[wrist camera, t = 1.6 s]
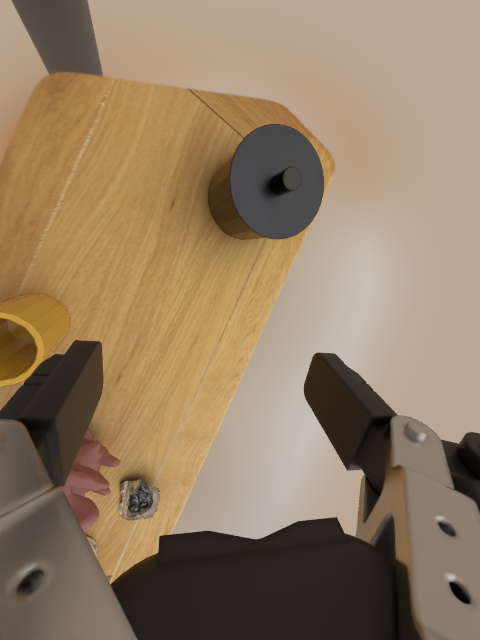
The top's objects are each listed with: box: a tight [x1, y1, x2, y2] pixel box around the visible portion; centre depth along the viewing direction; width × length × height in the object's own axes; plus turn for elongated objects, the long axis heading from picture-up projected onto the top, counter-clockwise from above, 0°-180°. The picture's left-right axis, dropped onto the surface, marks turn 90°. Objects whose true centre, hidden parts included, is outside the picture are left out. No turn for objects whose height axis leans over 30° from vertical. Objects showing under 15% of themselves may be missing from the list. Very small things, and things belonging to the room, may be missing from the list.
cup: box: [0, 294, 70, 386], centre depth 27 cm, size 6×6×10 cm
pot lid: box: [228, 124, 324, 239], centre depth 27 cm, size 10×10×4 cm
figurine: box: [61, 429, 120, 532], centre depth 32 cm, size 12×10×15 cm
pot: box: [208, 152, 265, 240], centre depth 32 cm, size 10×10×10 cm
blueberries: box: [119, 479, 160, 520], centre depth 41 cm, size 7×8×2 cm
